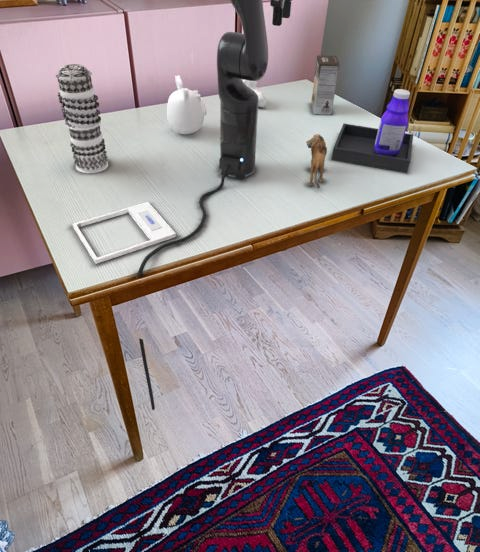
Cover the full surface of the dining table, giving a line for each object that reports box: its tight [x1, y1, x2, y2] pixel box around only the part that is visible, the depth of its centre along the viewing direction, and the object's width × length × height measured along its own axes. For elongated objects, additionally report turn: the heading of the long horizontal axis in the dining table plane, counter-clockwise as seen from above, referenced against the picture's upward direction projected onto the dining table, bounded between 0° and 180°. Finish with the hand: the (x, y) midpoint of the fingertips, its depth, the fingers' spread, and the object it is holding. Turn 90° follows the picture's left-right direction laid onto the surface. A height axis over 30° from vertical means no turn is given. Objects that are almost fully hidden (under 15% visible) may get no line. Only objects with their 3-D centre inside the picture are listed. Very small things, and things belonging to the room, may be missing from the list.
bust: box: [242, 79, 267, 108], centre depth 155 cm, size 12×8×11 cm
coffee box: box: [310, 54, 341, 116], centre depth 151 cm, size 9×6×16 cm
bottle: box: [374, 88, 411, 156], centre depth 127 cm, size 7×6×17 cm
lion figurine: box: [305, 133, 328, 189], centre depth 120 cm, size 15×5×9 cm, turn 0°
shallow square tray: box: [331, 122, 414, 174], centre depth 133 cm, size 18×21×4 cm
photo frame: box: [71, 201, 177, 265], centre depth 101 cm, size 15×1×18 cm
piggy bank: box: [166, 74, 207, 135], centre depth 136 cm, size 12×12×15 cm
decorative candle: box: [55, 63, 109, 174], centre depth 115 cm, size 9×9×25 cm
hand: (281, 21), depth 116 cm, fingers open, 8 cm apart
